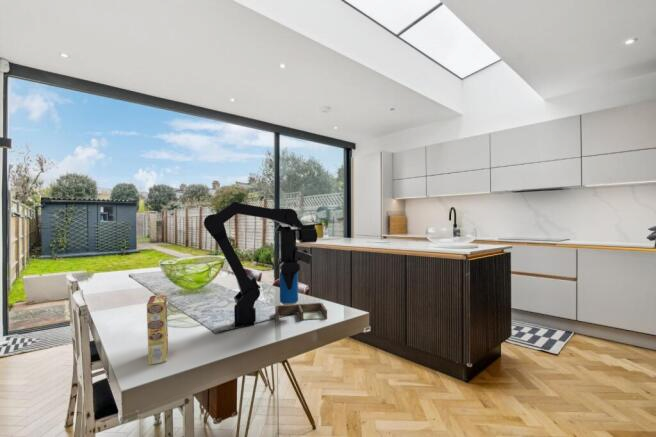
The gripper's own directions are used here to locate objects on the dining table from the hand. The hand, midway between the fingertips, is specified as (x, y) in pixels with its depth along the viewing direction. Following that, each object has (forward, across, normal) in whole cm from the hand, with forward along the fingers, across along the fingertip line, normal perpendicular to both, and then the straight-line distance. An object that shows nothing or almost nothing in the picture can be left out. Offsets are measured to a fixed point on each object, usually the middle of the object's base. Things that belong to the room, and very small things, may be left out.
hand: (288, 287), depth 116 cm
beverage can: (+6, 0, 0) cm, 6 cm away
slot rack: (+11, 0, -4) cm, 11 cm away
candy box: (+11, -25, +36) cm, 45 cm away
